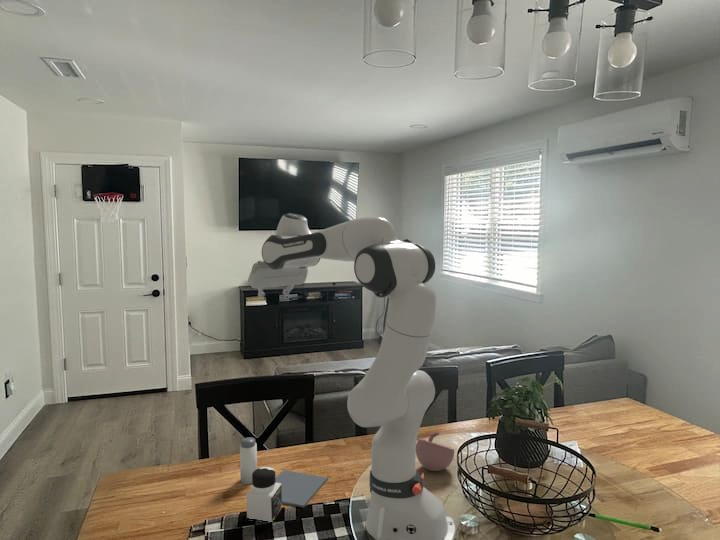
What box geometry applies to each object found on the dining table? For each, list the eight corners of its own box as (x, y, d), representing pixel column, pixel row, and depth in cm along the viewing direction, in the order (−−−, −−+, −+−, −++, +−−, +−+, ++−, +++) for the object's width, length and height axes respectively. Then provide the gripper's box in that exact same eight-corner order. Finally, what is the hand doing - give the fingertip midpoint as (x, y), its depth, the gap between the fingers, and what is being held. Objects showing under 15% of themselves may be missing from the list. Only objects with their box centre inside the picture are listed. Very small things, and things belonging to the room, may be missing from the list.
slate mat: (327, 479, 145) (327, 477, 145) (303, 507, 130) (303, 505, 130) (283, 471, 150) (283, 469, 150) (256, 497, 135) (256, 495, 135)
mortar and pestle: (461, 467, 152) (461, 432, 151) (442, 482, 142) (442, 445, 142) (428, 456, 159) (428, 423, 158) (408, 470, 150) (408, 435, 149)
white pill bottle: (260, 477, 147) (259, 438, 146) (251, 485, 142) (250, 444, 141) (246, 475, 148) (245, 435, 148) (237, 482, 144) (236, 442, 143)
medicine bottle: (272, 523, 123) (271, 478, 122) (246, 520, 125) (245, 475, 124) (282, 507, 130) (281, 465, 129) (257, 505, 132) (256, 463, 131)
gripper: (258, 266, 145) (249, 304, 151) (313, 263, 158) (303, 298, 164) (249, 256, 149) (240, 293, 155) (304, 254, 162) (294, 288, 168)
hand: (273, 295), depth 160 cm, fingers open, 8 cm apart
